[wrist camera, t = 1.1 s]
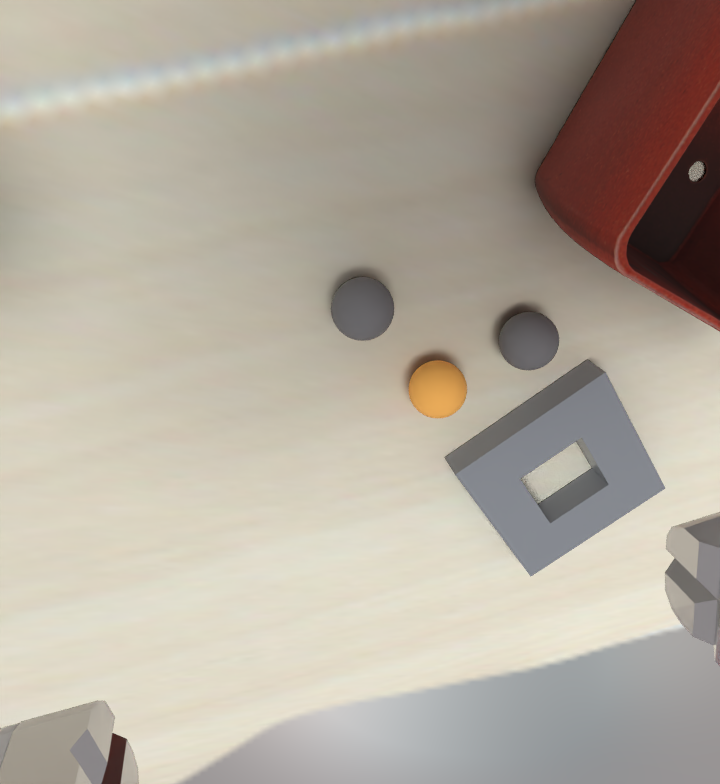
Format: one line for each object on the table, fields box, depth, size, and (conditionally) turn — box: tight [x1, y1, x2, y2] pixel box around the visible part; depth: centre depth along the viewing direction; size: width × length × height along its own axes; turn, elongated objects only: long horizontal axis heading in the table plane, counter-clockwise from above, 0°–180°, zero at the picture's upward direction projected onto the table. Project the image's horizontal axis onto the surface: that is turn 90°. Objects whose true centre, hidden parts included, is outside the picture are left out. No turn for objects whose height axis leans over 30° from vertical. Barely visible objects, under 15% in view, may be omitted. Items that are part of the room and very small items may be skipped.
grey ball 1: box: [331, 277, 394, 340], centre depth 39 cm, size 4×4×4 cm
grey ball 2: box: [499, 312, 559, 370], centre depth 43 cm, size 4×4×4 cm
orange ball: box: [409, 360, 467, 418], centre depth 43 cm, size 4×4×4 cm
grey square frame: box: [445, 360, 665, 576], centre depth 49 cm, size 13×13×2 cm
